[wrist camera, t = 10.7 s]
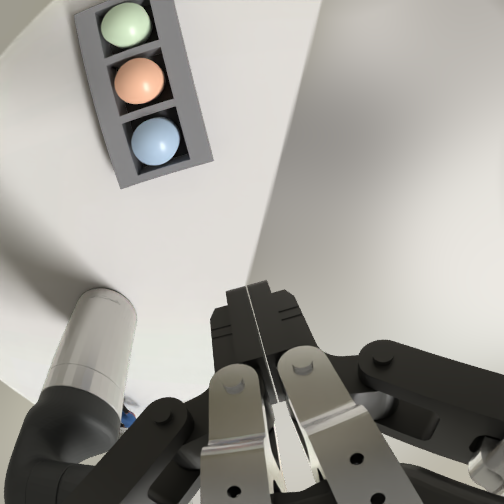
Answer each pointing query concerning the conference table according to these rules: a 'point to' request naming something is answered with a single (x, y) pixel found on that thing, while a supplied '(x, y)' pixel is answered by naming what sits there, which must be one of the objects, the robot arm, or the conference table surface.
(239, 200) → the conference table surface
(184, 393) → the conference table surface
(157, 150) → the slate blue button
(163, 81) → the orange button
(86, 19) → the tray
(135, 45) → the sage button
